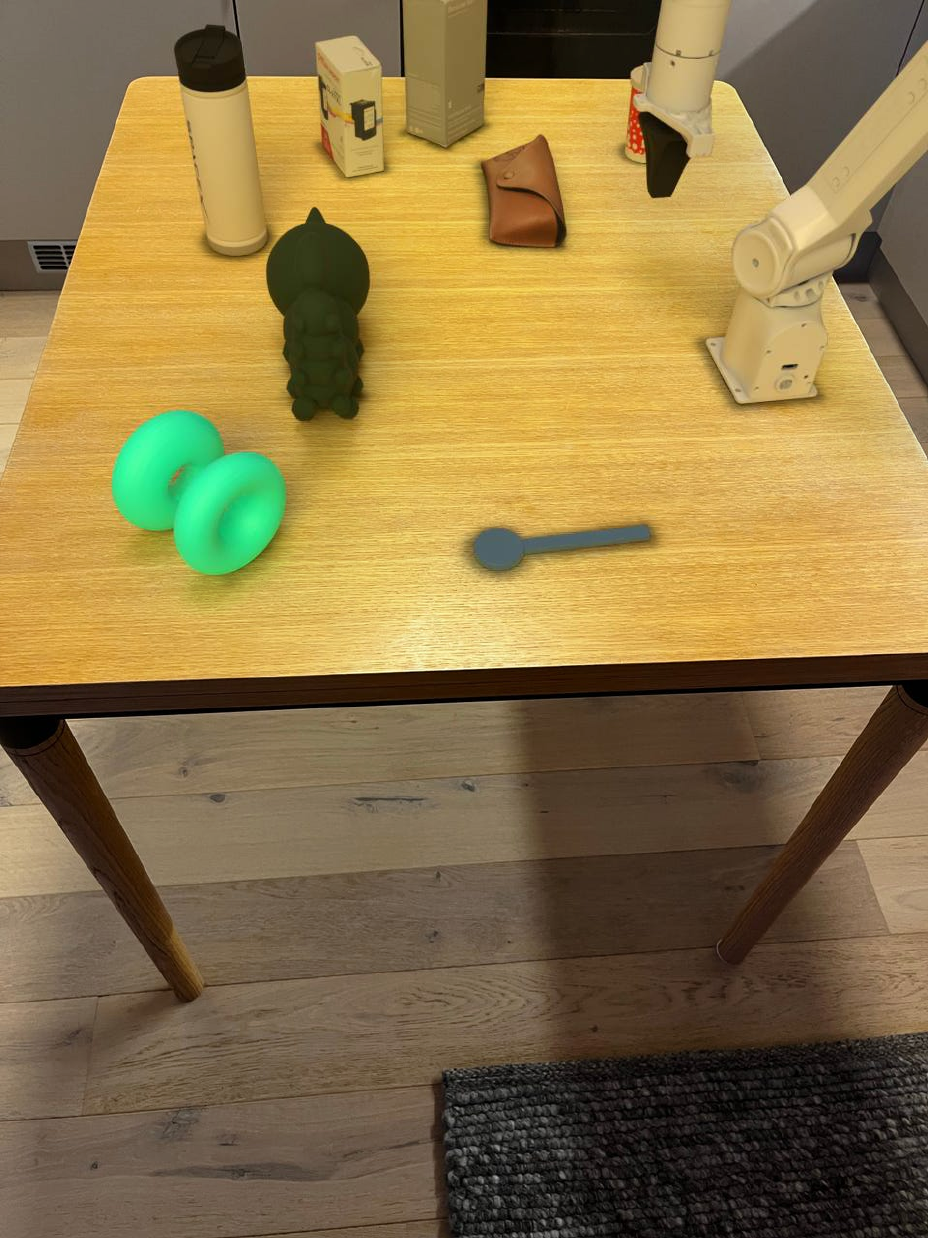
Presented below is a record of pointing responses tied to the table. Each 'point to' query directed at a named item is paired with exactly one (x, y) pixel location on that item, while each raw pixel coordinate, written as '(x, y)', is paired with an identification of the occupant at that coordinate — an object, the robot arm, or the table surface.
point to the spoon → (545, 544)
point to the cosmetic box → (444, 67)
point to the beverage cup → (635, 122)
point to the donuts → (199, 491)
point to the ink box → (350, 105)
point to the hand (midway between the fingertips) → (659, 193)
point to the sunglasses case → (525, 197)
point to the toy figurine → (320, 314)
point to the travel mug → (222, 139)
